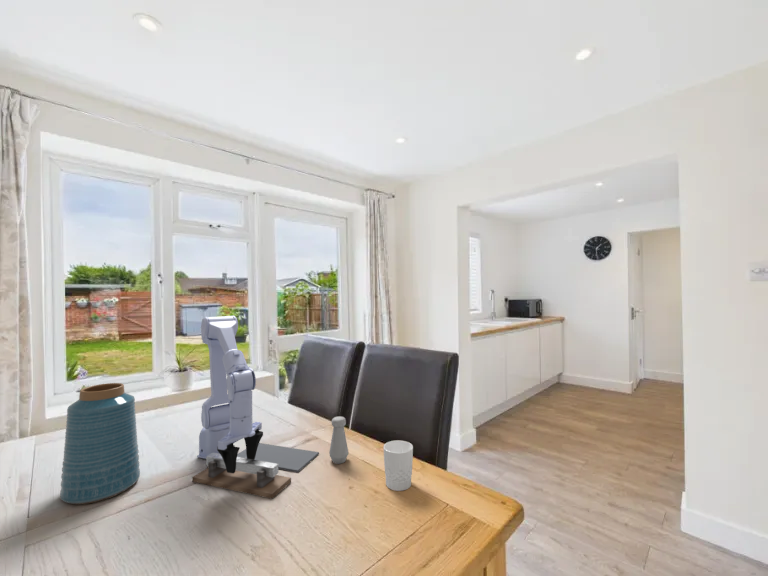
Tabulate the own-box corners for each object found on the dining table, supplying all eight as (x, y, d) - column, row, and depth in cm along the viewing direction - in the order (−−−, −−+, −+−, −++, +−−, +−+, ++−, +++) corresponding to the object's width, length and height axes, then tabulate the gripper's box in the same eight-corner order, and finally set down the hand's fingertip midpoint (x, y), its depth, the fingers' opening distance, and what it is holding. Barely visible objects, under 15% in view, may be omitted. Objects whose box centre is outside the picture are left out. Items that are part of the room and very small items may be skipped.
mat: (230, 460, 107) (230, 458, 107) (256, 444, 118) (256, 442, 118) (298, 472, 99) (298, 470, 99) (319, 454, 111) (319, 452, 111)
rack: (192, 481, 95) (192, 462, 95) (215, 467, 103) (215, 450, 103) (272, 498, 87) (272, 478, 87) (290, 482, 94) (290, 463, 94)
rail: (206, 464, 97) (206, 456, 97) (213, 460, 99) (212, 452, 99) (272, 477, 90) (272, 468, 90) (278, 473, 92) (278, 463, 92)
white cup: (416, 479, 95) (416, 442, 95) (409, 495, 88) (408, 455, 88) (389, 474, 98) (388, 438, 98) (379, 489, 90) (379, 450, 90)
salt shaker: (345, 466, 103) (344, 421, 103) (326, 464, 104) (326, 420, 104) (350, 457, 108) (350, 415, 109) (333, 455, 110) (333, 413, 110)
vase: (48, 515, 81) (49, 399, 81) (72, 481, 95) (72, 384, 96) (134, 495, 88) (134, 390, 89) (144, 467, 103) (144, 377, 103)
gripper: (233, 426, 87) (233, 481, 86) (270, 408, 100) (270, 455, 100) (211, 423, 89) (211, 476, 89) (250, 405, 103) (250, 452, 102)
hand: (241, 465), depth 95 cm, fingers open, 7 cm apart
